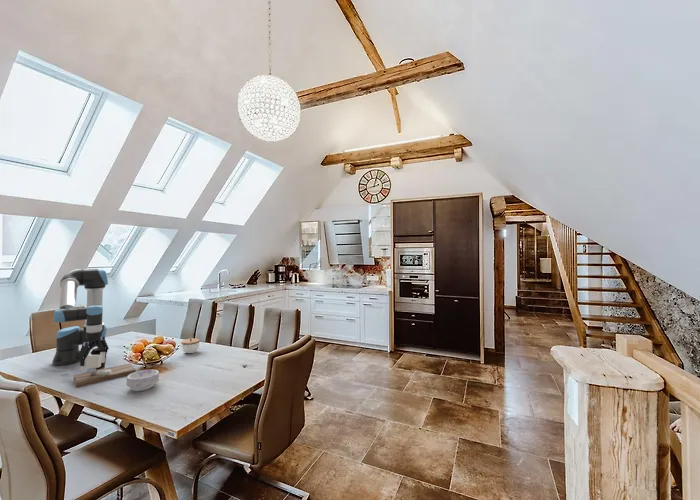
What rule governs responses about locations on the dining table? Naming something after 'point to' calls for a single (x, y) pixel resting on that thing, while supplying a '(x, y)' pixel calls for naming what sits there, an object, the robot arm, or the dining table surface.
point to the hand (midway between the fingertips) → (93, 366)
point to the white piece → (95, 364)
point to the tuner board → (103, 375)
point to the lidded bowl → (190, 345)
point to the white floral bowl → (142, 379)
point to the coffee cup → (97, 352)
